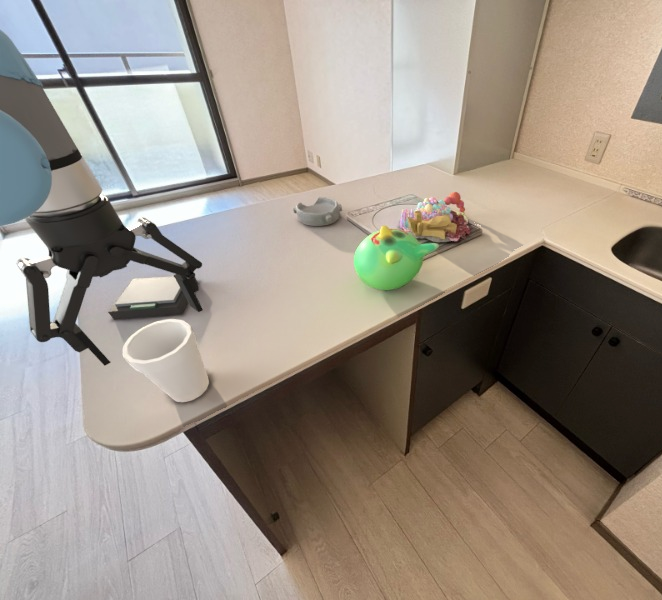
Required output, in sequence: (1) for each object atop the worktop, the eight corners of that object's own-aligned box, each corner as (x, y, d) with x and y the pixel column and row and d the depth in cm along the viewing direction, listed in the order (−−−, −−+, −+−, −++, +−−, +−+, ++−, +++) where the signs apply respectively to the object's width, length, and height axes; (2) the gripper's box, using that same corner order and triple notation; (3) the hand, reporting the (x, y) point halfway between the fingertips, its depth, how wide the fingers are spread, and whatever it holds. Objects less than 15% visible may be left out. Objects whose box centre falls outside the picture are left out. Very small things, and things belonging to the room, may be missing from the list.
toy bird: (393, 256, 95) (394, 209, 85) (436, 282, 86) (443, 233, 76) (343, 281, 85) (338, 231, 76) (386, 313, 76) (387, 261, 67)
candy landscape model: (475, 246, 101) (480, 218, 94) (399, 244, 100) (400, 216, 94) (463, 210, 119) (467, 185, 113) (399, 208, 119) (400, 183, 113)
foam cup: (228, 381, 61) (203, 334, 52) (180, 419, 55) (143, 373, 46) (198, 359, 65) (169, 311, 56) (150, 393, 59) (110, 345, 50)
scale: (113, 319, 72) (105, 309, 70) (137, 286, 81) (131, 276, 79) (181, 314, 74) (175, 303, 72) (197, 282, 83) (193, 272, 81)
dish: (290, 221, 109) (287, 207, 106) (317, 206, 118) (315, 192, 115) (323, 232, 104) (321, 218, 101) (349, 216, 113) (348, 202, 110)
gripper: (163, 164, 46) (215, 283, 60) (-115, 235, 30) (44, 372, 44) (191, 177, 42) (240, 299, 56) (-103, 264, 27) (64, 402, 41)
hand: (154, 331), depth 50 cm, fingers open, 13 cm apart
